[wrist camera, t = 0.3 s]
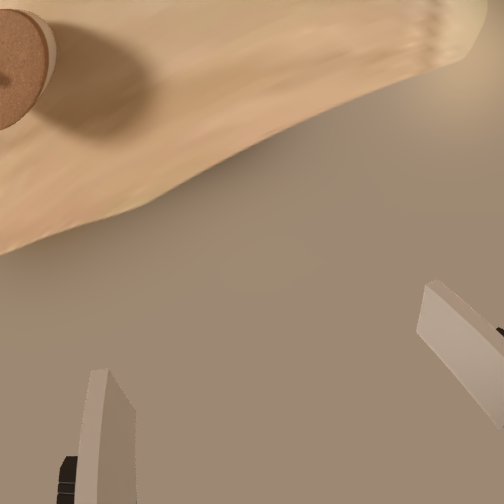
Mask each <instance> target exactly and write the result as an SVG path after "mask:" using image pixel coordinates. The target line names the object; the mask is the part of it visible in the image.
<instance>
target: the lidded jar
mask: <svg viewBox="0 0 504 504" xmlns="http://www.w3.org/2000/svg"><path fill="white" fill-rule="evenodd" d="M56 59H57V44H56V40H55V36H54V34H53V31H52V29H51V28H50V26H49V25H48V24H47V22H46V21H45V20H44V19H42V18H41V17H39V16H38V15H36V14H34V13H32V12H29V11H25V10H19V9H0V130H3V129H5V128H7V127H10V126H12V125H13V124H15V123H16V122H17V121H19V120H20V119H21V118H22V117H23V116H24V115H25V114H26V113H27V112H28V111H29V110H30V109H31V108H32V106H33V105H34V104H35V102H36V101H37V100H38V99H39V97H40V96H41V95H42V93H43V92H44V90H45V89H46V87H47V85H48V83H49V81H50V79H51V77H52V74H53V71H54V68H55V64H56Z"/></svg>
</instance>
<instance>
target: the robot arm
mask: <svg viewBox="0 0 504 504" xmlns="http://www.w3.org/2000/svg"><path fill="white" fill-rule="evenodd" d="M416 332H417V334H418V335H419V336H420V337H421V338H422V339H423V340H424V341H425V342H426V343H427V345H428V346H429V347H430V348H431V349H432V350H433V351H434V352H435V354H436V355H437V356H438V357H439V358H440V359H441V360H442V361H443V363H444V364H445V365H446V366H447V367H448V368H449V370H450V371H451V372H452V373H453V374H454V375H455V377H456V378H457V379H458V380H459V381H460V382H461V384H462V385H463V386H464V387H465V388H466V390H467V391H468V392H469V393H470V394H471V396H472V397H473V398H474V399H475V400H476V402H477V403H478V404H479V405H480V407H481V408H482V409H483V410H484V411H485V413H486V414H487V415H488V416H489V418H490V419H491V420H492V421H493V423H494V424H495V425H496V427H497V428H498V429H499V430H500V429H501V428H503V427H504V330H503V329H501V328H499V327H498V328H497V329H494V327H492V326H491V325H490V324H489V323H488V322H487V321H486V320H485V319H484V318H483V317H481V316H480V315H479V314H478V313H477V312H476V311H475V310H473V309H472V308H471V307H470V306H469V305H468V304H467V303H465V302H464V301H463V300H462V299H461V298H460V297H458V296H457V295H456V294H455V293H454V292H453V291H451V290H450V289H449V288H448V287H446V286H445V285H444V284H443V283H442V282H441V281H439V280H435V281H432V282H430V283H427V284H426V285H425V290H424V295H423V301H422V306H421V311H420V316H419V321H418V325H417V330H416ZM135 420H136V410H135V409H134V407H133V406H132V404H131V403H130V401H129V400H128V399H127V397H126V395H125V394H124V392H123V391H122V389H121V388H120V386H119V384H118V383H117V381H116V380H115V378H114V377H113V375H112V373H111V372H110V370H109V369H102V370H95V371H91V375H90V380H89V386H88V392H87V397H86V403H85V409H84V415H83V422H82V428H81V436H80V444H79V452H78V456H67V457H66V458H65V460H64V462H63V464H62V466H61V468H60V473H59V484H58V495H57V504H137V498H136V471H135V470H136V468H135V423H136V421H135Z"/></svg>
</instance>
